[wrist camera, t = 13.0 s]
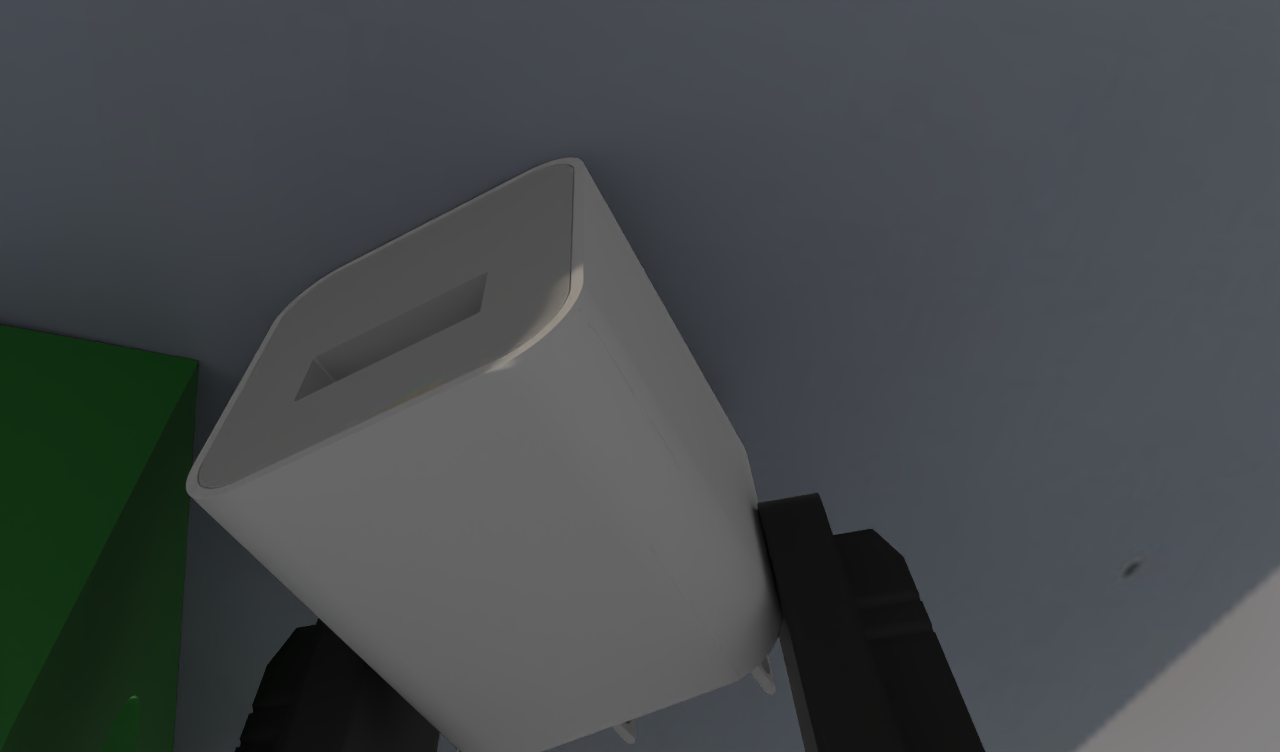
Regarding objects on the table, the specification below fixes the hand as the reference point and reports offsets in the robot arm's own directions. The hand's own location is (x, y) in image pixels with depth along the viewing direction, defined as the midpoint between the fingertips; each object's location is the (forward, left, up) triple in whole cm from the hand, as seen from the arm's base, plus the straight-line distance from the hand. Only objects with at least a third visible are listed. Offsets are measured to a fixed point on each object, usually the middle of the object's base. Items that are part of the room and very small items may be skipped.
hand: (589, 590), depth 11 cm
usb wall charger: (-1, 0, -2) cm, 2 cm away
